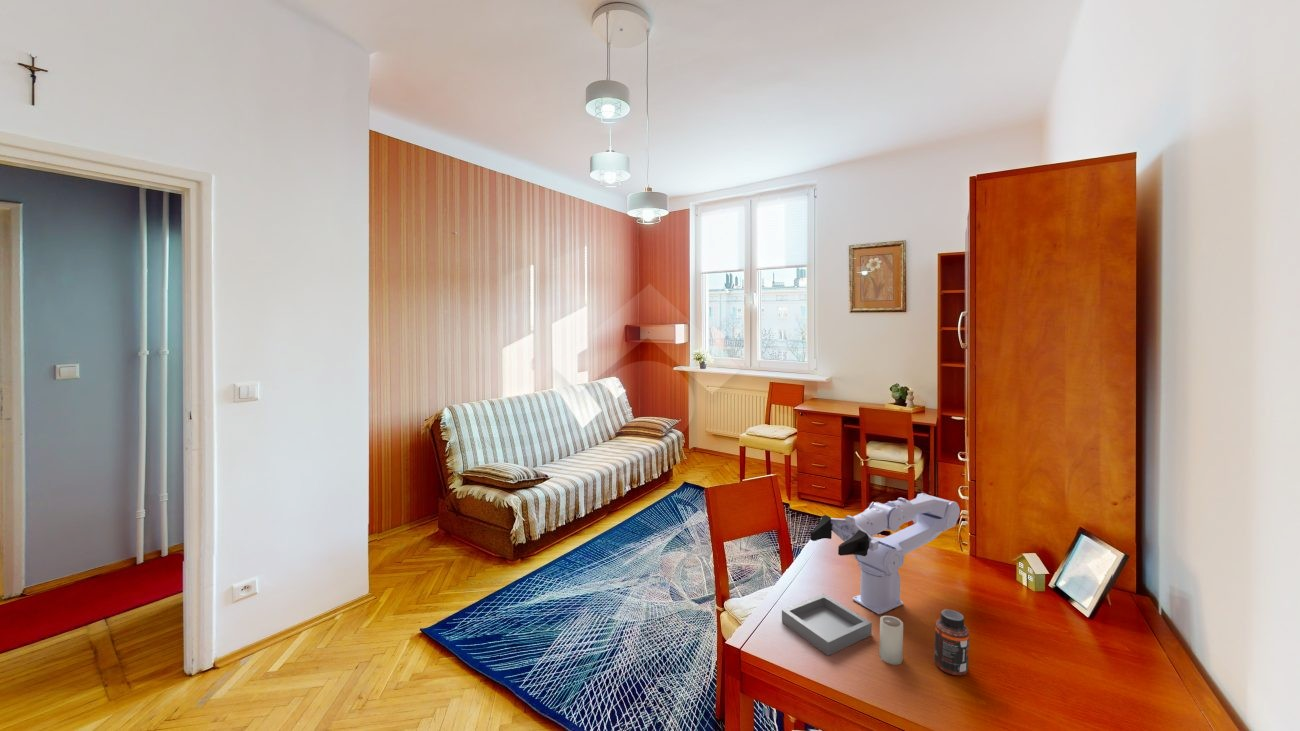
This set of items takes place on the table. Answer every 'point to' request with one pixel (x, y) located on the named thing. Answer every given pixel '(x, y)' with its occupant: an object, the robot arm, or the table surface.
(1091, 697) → the table surface
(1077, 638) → the table surface
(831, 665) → the table surface
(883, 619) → the cup
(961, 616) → the supplement bottle
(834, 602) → the tray
